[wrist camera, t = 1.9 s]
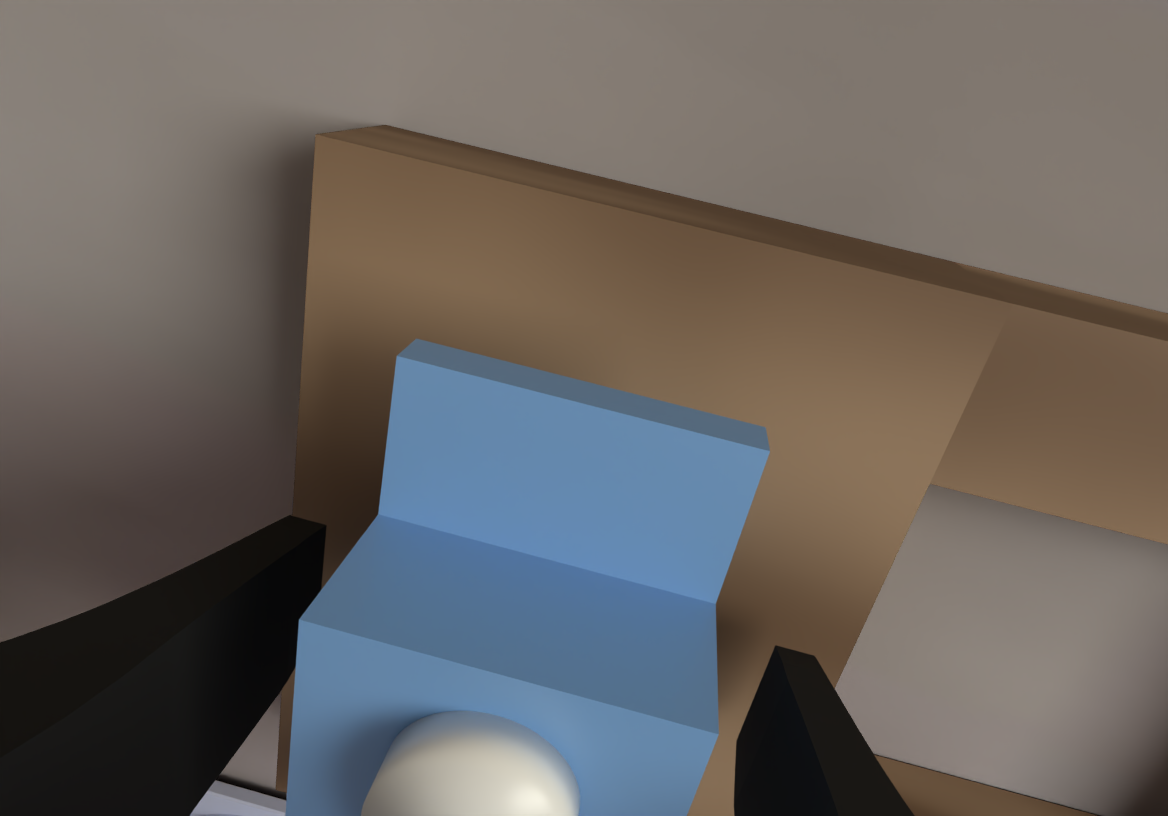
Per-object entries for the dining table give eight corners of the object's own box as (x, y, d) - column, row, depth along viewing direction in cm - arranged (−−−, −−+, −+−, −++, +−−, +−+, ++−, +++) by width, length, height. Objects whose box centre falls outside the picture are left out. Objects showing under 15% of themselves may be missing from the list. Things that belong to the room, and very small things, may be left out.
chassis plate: (1183, 937, 17) (1257, 1069, 15) (329, 699, 18) (275, 789, 16) (1634, 425, 12) (1859, 509, 9) (385, 125, 13) (315, 134, 10)
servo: (597, 827, 15) (542, 1221, 10) (400, 772, 15) (242, 1129, 10) (752, 353, 11) (797, 603, 6) (476, 284, 11) (274, 463, 6)
